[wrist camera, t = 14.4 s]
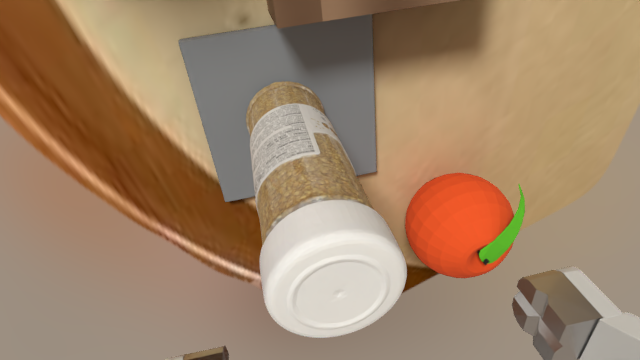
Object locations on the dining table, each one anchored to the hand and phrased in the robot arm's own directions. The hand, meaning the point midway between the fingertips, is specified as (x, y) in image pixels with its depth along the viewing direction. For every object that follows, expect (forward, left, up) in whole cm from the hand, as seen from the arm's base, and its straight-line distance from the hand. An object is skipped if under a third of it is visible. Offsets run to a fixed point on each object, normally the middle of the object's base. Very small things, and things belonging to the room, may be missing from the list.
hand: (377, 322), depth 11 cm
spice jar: (+1, 0, -15) cm, 15 cm away
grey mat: (0, 0, -16) cm, 15 cm away
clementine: (-10, +9, -16) cm, 20 cm away
